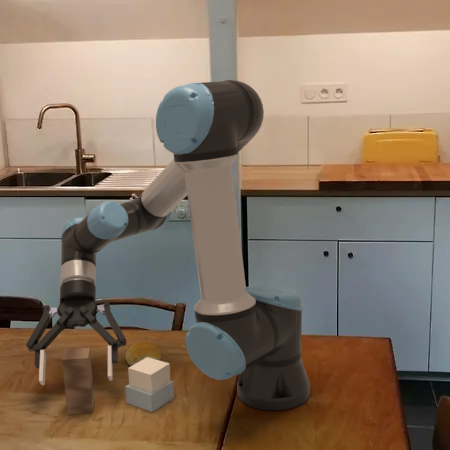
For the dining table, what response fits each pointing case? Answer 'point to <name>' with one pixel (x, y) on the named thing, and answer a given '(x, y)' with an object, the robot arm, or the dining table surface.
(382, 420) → the dining table surface
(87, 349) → the pillar
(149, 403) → the tower base
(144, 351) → the bread roll
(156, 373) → the tower top
